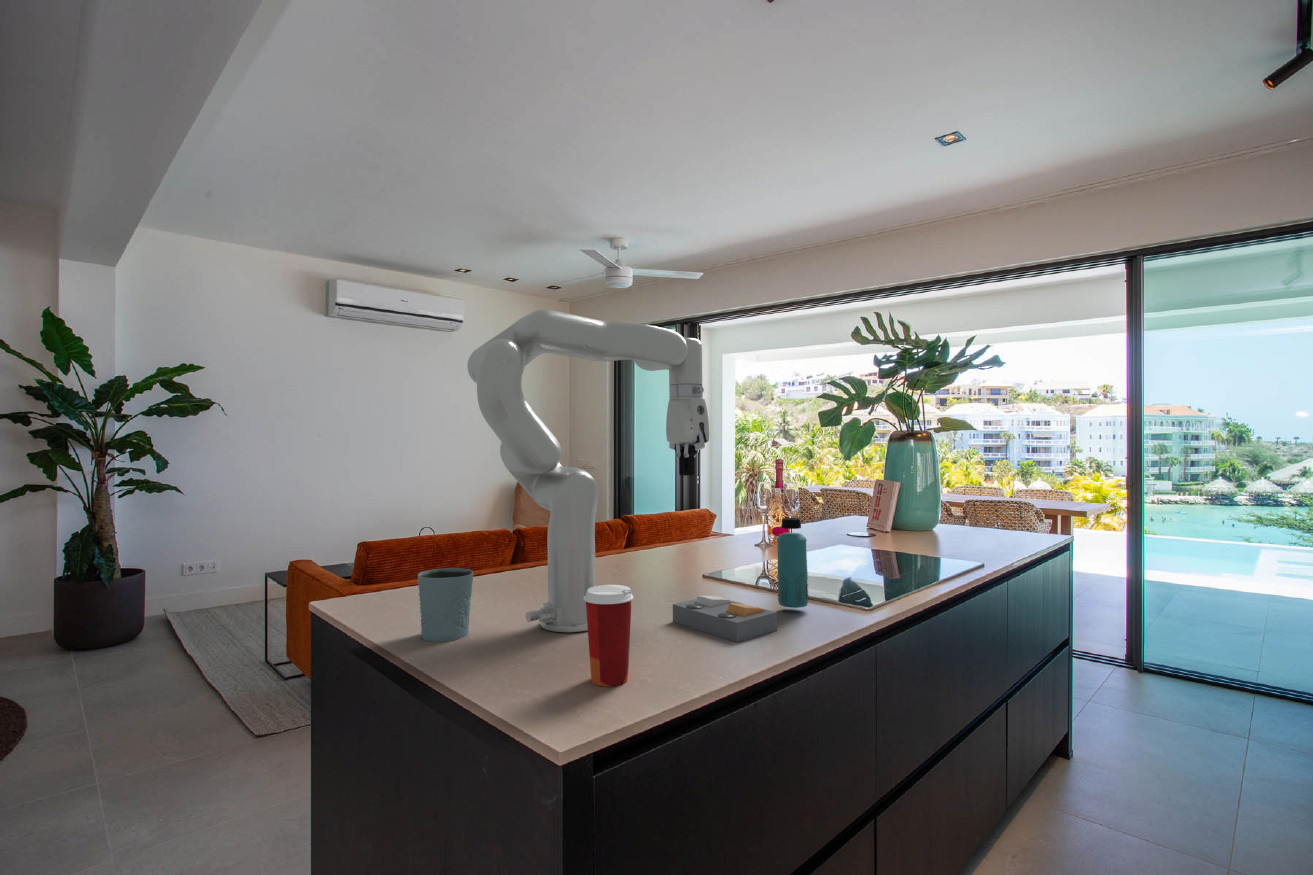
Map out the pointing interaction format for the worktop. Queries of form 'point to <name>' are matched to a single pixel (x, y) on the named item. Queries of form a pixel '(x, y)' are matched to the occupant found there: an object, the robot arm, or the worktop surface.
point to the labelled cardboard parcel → (743, 609)
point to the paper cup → (609, 633)
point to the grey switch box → (724, 620)
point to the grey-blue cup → (445, 603)
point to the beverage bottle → (792, 566)
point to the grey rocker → (711, 601)
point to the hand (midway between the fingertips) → (686, 475)
